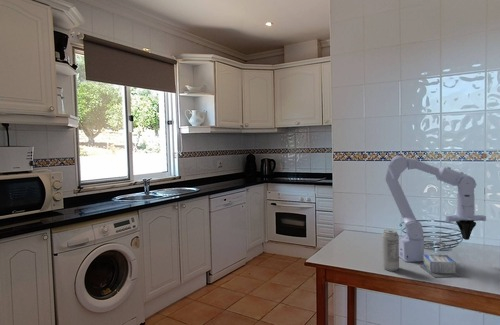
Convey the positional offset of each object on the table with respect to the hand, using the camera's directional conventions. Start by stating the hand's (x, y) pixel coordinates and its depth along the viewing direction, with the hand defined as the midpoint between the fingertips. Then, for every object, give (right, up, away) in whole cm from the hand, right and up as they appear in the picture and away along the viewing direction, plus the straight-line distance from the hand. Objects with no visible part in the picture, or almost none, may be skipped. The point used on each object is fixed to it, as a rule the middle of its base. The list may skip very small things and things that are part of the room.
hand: (465, 238), depth 129 cm
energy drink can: (-31, -12, -1) cm, 33 cm away
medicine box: (-9, -8, -6) cm, 14 cm away
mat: (-14, -11, -6) cm, 19 cm away
